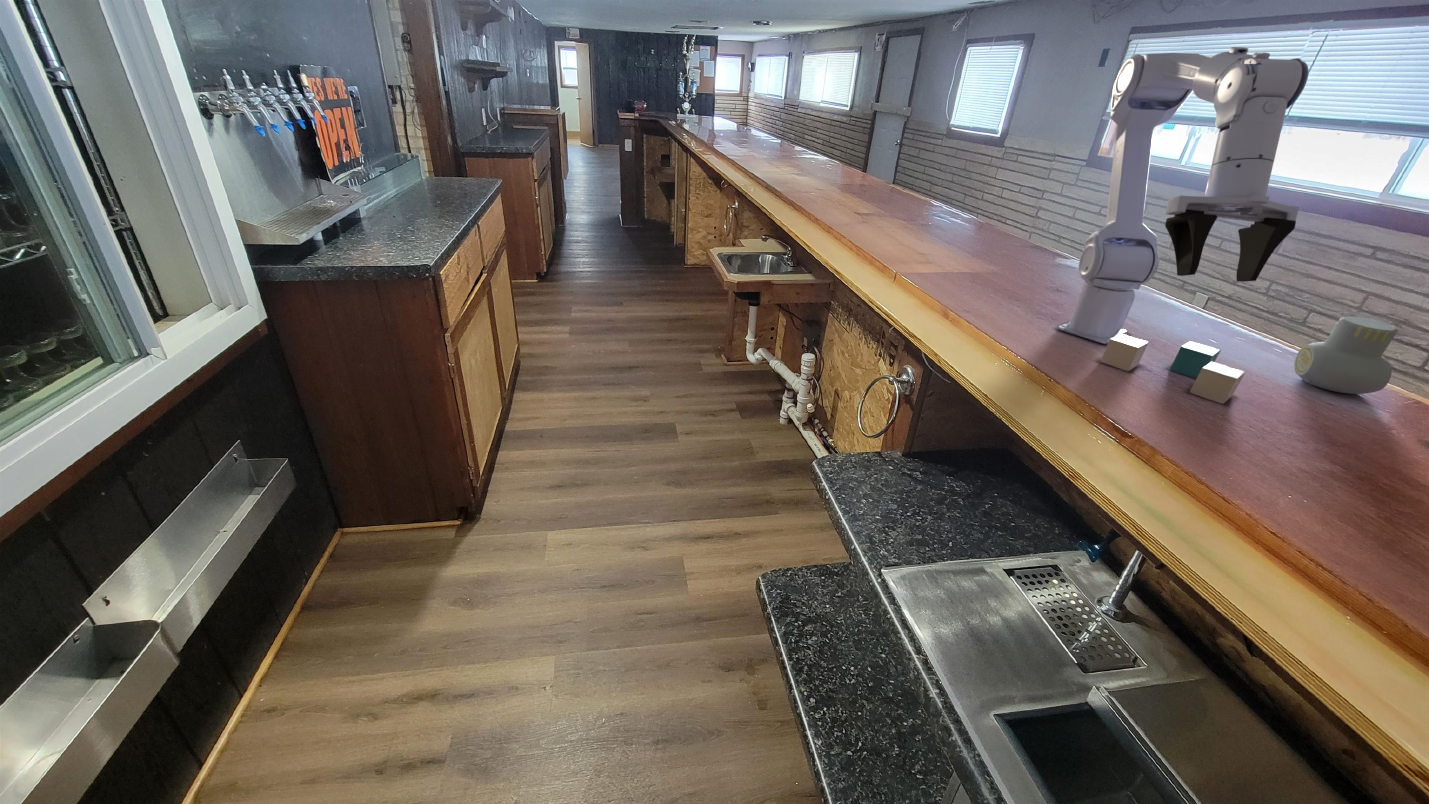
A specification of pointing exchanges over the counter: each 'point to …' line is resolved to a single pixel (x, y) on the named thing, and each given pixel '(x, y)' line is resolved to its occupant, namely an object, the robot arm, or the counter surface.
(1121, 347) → the line block
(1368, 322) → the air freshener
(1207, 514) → the counter surface
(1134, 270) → the robot arm
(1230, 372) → the line block
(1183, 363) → the teal block
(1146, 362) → the counter surface
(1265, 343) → the counter surface
